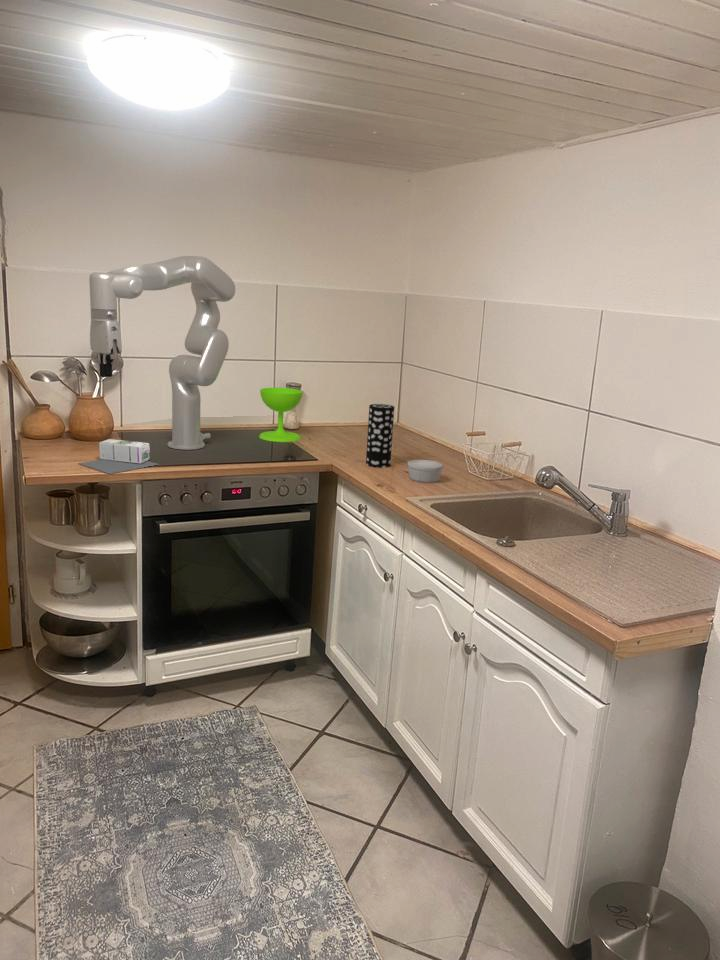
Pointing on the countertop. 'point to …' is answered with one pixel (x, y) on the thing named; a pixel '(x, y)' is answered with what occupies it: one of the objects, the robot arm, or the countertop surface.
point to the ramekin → (424, 471)
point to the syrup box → (124, 451)
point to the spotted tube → (379, 435)
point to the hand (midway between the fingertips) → (106, 376)
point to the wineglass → (280, 411)
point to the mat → (115, 466)
